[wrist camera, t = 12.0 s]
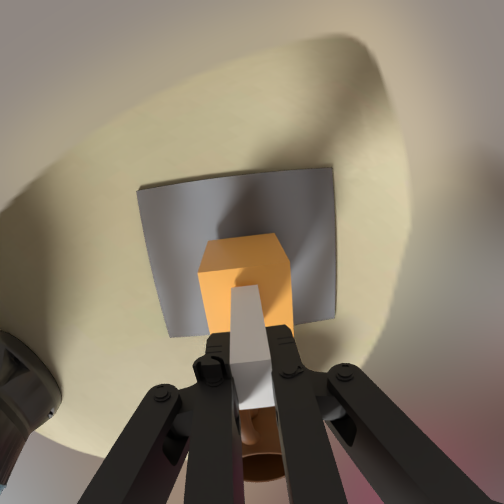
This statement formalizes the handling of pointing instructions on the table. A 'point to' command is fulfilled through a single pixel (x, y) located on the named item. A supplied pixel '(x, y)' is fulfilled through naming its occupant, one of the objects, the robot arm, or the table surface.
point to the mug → (261, 445)
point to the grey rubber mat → (238, 225)
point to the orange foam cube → (246, 278)
